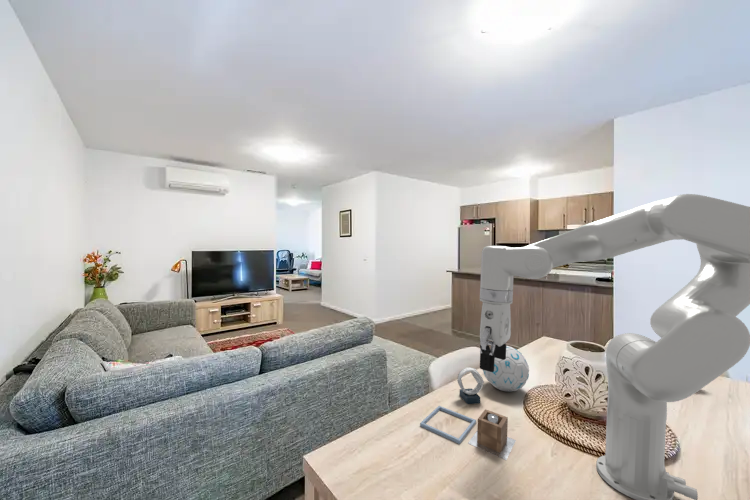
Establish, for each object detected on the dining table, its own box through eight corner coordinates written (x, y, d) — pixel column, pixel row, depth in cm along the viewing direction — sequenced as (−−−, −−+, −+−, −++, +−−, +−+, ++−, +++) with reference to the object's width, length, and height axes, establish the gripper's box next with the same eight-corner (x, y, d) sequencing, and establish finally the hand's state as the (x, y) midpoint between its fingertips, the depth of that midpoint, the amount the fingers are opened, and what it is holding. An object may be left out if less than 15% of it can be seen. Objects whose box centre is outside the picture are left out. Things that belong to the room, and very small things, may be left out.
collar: (507, 440, 75) (507, 417, 75) (500, 452, 70) (501, 428, 70) (484, 431, 78) (485, 409, 78) (477, 442, 74) (477, 418, 74)
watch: (485, 406, 93) (486, 371, 92) (461, 408, 91) (462, 373, 91) (477, 397, 98) (478, 364, 98) (454, 398, 97) (455, 365, 97)
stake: (515, 444, 75) (516, 415, 75) (506, 465, 68) (507, 432, 68) (480, 430, 81) (481, 402, 80) (467, 447, 74) (468, 417, 73)
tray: (475, 427, 82) (476, 420, 82) (459, 448, 73) (459, 440, 73) (438, 412, 89) (439, 405, 89) (420, 430, 80) (420, 422, 80)
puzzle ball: (475, 378, 112) (476, 339, 111) (514, 378, 112) (515, 339, 112) (492, 400, 96) (493, 354, 96) (537, 400, 97) (539, 354, 97)
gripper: (501, 303, 64) (498, 380, 65) (520, 293, 78) (518, 358, 78) (468, 298, 69) (465, 370, 69) (491, 290, 83) (489, 350, 83)
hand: (493, 363), depth 74 cm, fingers open, 9 cm apart
